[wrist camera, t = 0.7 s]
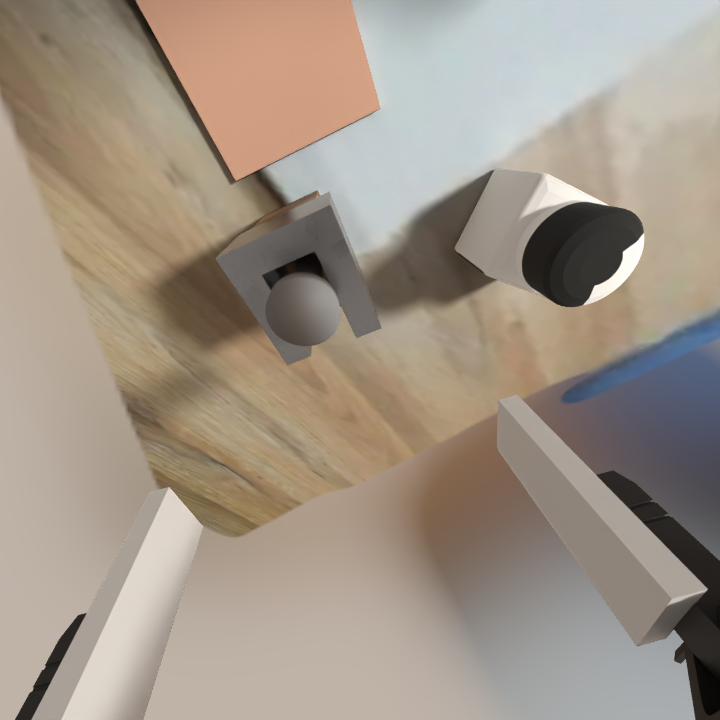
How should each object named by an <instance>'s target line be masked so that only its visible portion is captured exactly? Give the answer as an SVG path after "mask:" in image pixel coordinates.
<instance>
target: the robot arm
mask: <svg viewBox="0 0 720 720" xmlns="http://www.w3.org/2000/svg"><path fill="white" fill-rule="evenodd" d="M497 449H498V451H499V452H500V453H501V455H502V456H503V458H504V459H505V461H506V462H507V463H508V465H509V466H510V468H511V469H512V470H513V472H514V473H515V475H516V476H517V477H518V479H519V480H520V482H521V483H522V485H523V486H524V487H525V489H526V490H527V492H528V493H529V495H530V496H531V497H532V499H533V500H534V502H535V503H536V504H537V506H538V507H539V509H540V510H541V511H542V513H543V514H544V516H545V517H546V519H547V520H548V521H549V523H550V524H551V526H552V527H553V528H554V530H555V531H556V533H557V534H558V535H559V537H560V538H561V540H562V541H563V543H564V544H565V545H566V547H567V548H568V550H569V551H570V552H571V554H572V555H573V557H574V558H575V560H576V561H577V562H578V564H579V565H580V567H581V568H582V569H583V571H584V572H585V573H586V575H587V577H588V578H589V579H590V581H591V582H592V584H593V585H594V586H595V588H596V589H597V591H598V592H599V594H600V595H601V596H602V597H603V599H604V601H605V602H606V603H607V605H608V606H609V608H610V609H611V611H612V612H613V613H614V615H615V616H616V618H617V619H618V620H619V622H620V623H621V625H622V626H623V627H624V629H625V630H626V632H627V633H628V635H629V636H630V637H631V639H632V640H633V642H634V643H635V644H636V646H640V645H644V644H647V643H651V642H655V641H658V640H662V639H665V638H667V637H668V636H669V634H670V633H671V632H672V631H673V630H675V631H676V632H677V634H678V635H679V636H680V637H681V638H682V640H683V641H684V642H683V643H682V644H681V646H680V647H679V648H678V649H677V650H676V651H675V658H674V660H675V661H676V662H678V663H682V662H683V661H684V660H685V659H686V663H687V668H688V675H689V680H690V688H691V693H692V700H693V706H694V713H695V718H696V720H720V561H719V560H718V559H717V558H716V557H715V556H713V554H711V553H710V552H709V551H708V550H707V549H706V548H705V547H704V546H703V545H702V544H700V543H699V541H697V540H696V539H695V538H694V537H693V536H692V535H691V534H690V533H689V532H688V531H687V530H685V529H684V528H683V527H682V526H681V525H680V524H679V523H678V522H677V521H676V520H674V519H673V518H672V517H670V516H669V515H668V513H667V512H666V511H665V510H664V509H663V508H662V507H660V506H659V505H658V504H657V503H654V502H653V499H652V498H651V497H650V496H648V495H647V494H646V493H645V492H644V491H643V490H642V489H641V488H640V487H638V485H637V484H635V483H634V482H632V481H630V480H629V479H627V478H625V477H624V476H622V475H620V474H618V473H616V472H615V471H609V472H606V473H602V474H599V475H595V474H594V473H593V472H592V471H591V470H590V469H589V468H588V467H587V465H586V464H585V463H583V461H582V460H580V458H579V457H578V456H577V455H576V454H575V453H573V451H572V450H571V449H570V448H569V447H568V446H567V445H566V444H565V443H564V442H563V441H562V440H561V439H560V438H559V437H558V436H557V435H556V434H555V433H554V432H553V431H552V430H551V429H550V428H549V427H548V426H547V425H546V424H545V423H544V422H543V421H542V420H541V419H540V418H539V417H538V416H537V415H536V414H535V413H534V412H533V411H532V410H531V408H530V407H529V406H528V405H527V404H525V402H524V401H523V400H522V399H521V398H520V397H519V396H518V395H515V396H512V397H508V398H504V399H500V400H498V428H497ZM202 529H203V526H202V525H201V524H200V522H199V521H198V520H197V519H196V518H195V517H194V515H193V514H192V513H191V512H190V511H189V510H188V508H187V507H186V506H185V505H184V504H183V503H182V502H181V500H180V499H179V498H178V497H177V496H176V495H175V493H174V492H173V491H172V490H171V489H170V488H169V487H167V488H164V489H160V490H156V491H152V492H149V494H148V496H147V498H146V500H145V502H144V504H143V506H142V508H141V510H140V512H139V514H138V515H137V518H136V519H135V521H134V523H133V525H132V527H131V529H130V531H129V533H128V535H127V537H126V538H125V540H124V542H123V544H122V546H121V548H120V550H119V552H118V554H117V556H116V558H115V560H114V562H113V564H112V565H111V567H110V569H109V571H108V573H107V575H106V577H105V579H104V581H103V583H102V585H101V587H100V589H99V591H98V593H97V595H96V596H95V598H94V600H93V602H92V604H91V606H90V608H89V610H88V612H87V613H85V614H81V615H78V616H77V618H76V619H75V620H74V621H73V623H72V624H71V625H70V626H69V628H68V629H67V630H66V631H65V633H64V634H63V635H62V636H61V638H60V639H59V641H58V643H57V644H56V646H55V648H54V650H53V652H52V653H51V656H50V657H49V659H48V661H47V663H46V664H45V665H46V667H45V669H44V670H42V672H41V673H40V675H39V677H38V679H37V681H36V683H35V685H34V686H33V687H34V689H33V691H32V692H31V693H29V695H28V697H27V699H26V701H25V703H24V705H23V706H22V708H21V710H20V712H19V714H18V716H17V717H16V719H15V720H143V719H144V716H145V712H146V709H147V706H148V702H149V700H150V696H151V693H152V690H153V687H154V683H155V680H156V677H157V674H158V670H159V667H160V664H161V661H162V658H163V654H164V651H165V648H166V645H167V641H168V638H169V635H170V632H171V629H172V625H173V622H174V619H175V615H176V613H177V609H178V606H179V603H180V600H181V596H182V593H183V590H184V587H185V583H186V580H187V577H188V574H189V570H190V567H191V564H192V561H193V558H194V555H195V551H196V548H197V545H198V542H199V538H200V535H201V532H202Z"/></svg>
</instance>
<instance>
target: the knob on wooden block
mask: <svg viewBox="0 0 720 720" xmlns="http://www.w3.org/2000/svg"><path fill="white" fill-rule="evenodd" d="M319 196H320V195H319V192H318V190H317V191H315V192H313V193H311V194H309V195H307V196H305V197H303V198H300V199H298V200H296V201H294V202H292V203H290V204H288V205H286V206H284V207H282V208H279V209H277V210H275V211H273V212H271V213H269V214H267V215H265V216H263V217H262V218H261V220H260V221H259V222H258V223H257V224H256V225H255V226H254V227H256V226H258V225H260V224H262V223H265V222H267V221H269V220H271V219H273V218H275V217H277V216H279V215H281V214H284V213H286V212H288V211H290V210H292V209H294V208H296V207H298V206H300V205H302V204H305V203H307V202H309V201H311V200H313V199H315V198H317V197H319ZM254 227H253V228H254ZM285 266H286V268H287V270H288V271H289V273H290V274H289V275H286V276H285V277H283V278H281V279H280V280H279V281H278V282H277V283H276V284H275V285H274V286H273V288H272V290H271V292H270V294H269V297H268V299H267V302H266V307H265V313H266V319H267V322H268V324H269V326H270V328H271V329H272V331H273V332H274V333H275V334H276V335H277V336H278V337H279V338H281V339H282V340H284V341H286V342H288V343H290V344H293V345H297V346H312V345H317V344H320V343H322V342H324V341H326V340H327V339H328V338H330V337H331V336H332V335H333V334H334V332H335V331H336V329H337V327H338V325H339V322H340V306H341V305H340V303H339V298H338V295H337V293H336V291H335V289H334V288H333V287H332V286H331V284H330V282H329V280H328V278H327V275H326V273H325V271H324V269H323V267H322V265H321V263H320V261H319V259H318V257H317V255H316V253H315V251H314V252H312V253H310V254H307V255H305V256H303V257H301V258H299V259H296V260H294V261H292V262H290V263H287V264H285Z"/></svg>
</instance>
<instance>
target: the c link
mask: <svg viewBox="0 0 720 720" xmlns="http://www.w3.org/2000/svg"><path fill="white" fill-rule="evenodd" d="M314 251H315V253H316V255H317V257H318V259H319V261H320V263H321V265H322V267H323V269H324V271H325V273H326V275H327V278H328V280H329V282H330V284H331V286H332V287H333V288H334V289H335V291H336V293H337V295H338V298H339V303H340V305H341V307H342V309H343V311H344V313H345V315H346V317H347V319H348V321H349V324H350V326H351V328H352V330H353V332H354V334H355V336H356V338H358V337H360V336H363V335H365V334H368V333H371V332H373V331H376V330H378V329H381V325H380V322H379V319H378V316H377V313H376V309H375V306H374V303H373V300H372V297H371V294H370V291H369V289H368V286H367V284H366V281H365V279H364V276H363V274H362V271H361V269H360V266H359V264H358V261H357V259H356V257H355V254H354V252H353V249H352V247H351V244H350V242H349V239H348V237H347V234H346V232H345V229H344V227H343V224H342V222H341V219H340V217H339V214H338V212H337V210H336V207H335V205H334V202H333V200H332V197H331V195H330V192H328V193H326V194H324V195H321V196H319V197H317V198H315V199H313V200H311V201H309V202H307V203H305V204H302V205H300V206H298V207H296V208H294V209H292V210H290V211H288V212H286V213H284V214H281V215H279V216H277V217H275V218H273V219H271V220H269V221H267V222H265V223H262V224H260V225H258V226H256V227H254V228H252V229H250V230H248V231H246V232H243V233H241V234H240V235H239V236H238V237H237V238H235V239H234V240H233V241H232V242H231V243H230V244H229V245H228V246H227V247H226V248H225V249H224V250H223V251H222V252H221V253H220V254H219V255H218V256H217V257H216V258H215V259H216V261H217V262H218V264H219V265H220V267H221V268H222V270H223V271H224V273H225V274H226V275H227V277H228V278H229V280H230V281H231V283H232V284H233V286H234V287H235V289H236V290H237V292H238V293H239V295H240V296H241V298H242V299H243V300H244V302H245V303H246V305H247V306H248V308H249V309H250V311H251V312H252V314H253V315H254V317H255V318H256V320H257V321H258V323H259V324H260V325H261V327H262V328H263V330H264V331H265V333H266V334H267V336H268V337H269V339H270V340H271V342H272V343H273V345H274V346H275V348H276V349H277V350H278V352H279V353H280V355H281V356H282V358H283V359H284V361H285V362H286V364H287V365H290V364H292V363H295V362H297V361H300V360H302V359H305V358H307V357H310V356H311V347H312V346H297V345H293V344H290V343H288V342H286V341H284V340H282V339H281V338H279V337H278V336H277V335H276V334H275V333H274V332H273V331H272V329H271V328H270V326H269V324H268V322H267V319H266V313H265V307H266V302H267V299H268V297H269V294H270V292H271V290H272V288H273V286H274V285H275V284H276V283H277V282H278V281H279V280H280V279H281V278H283V277H285V276H286V275H289V274H290V273H289V271H288V270H287V268H286V266H285V264H287V263H290V262H292V261H294V260H296V259H299V258H301V257H303V256H305V255H307V254H310V253H312V252H314Z"/></svg>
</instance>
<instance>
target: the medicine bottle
mask: <svg viewBox="0 0 720 720" xmlns="http://www.w3.org/2000/svg"><path fill="white" fill-rule="evenodd" d="M643 246H644V230H643V226H642V223H641V221H640V219H639V218H638V217H637V216H636V215H635V214H634V213H633V212H631V211H629V210H626V209H623V208H617V207H612V206H609V205H607V204H605V203H603V202H601V201H600V200H598V199H596V198H594V197H592V196H590V195H588V194H586V193H584V192H582V191H580V190H578V189H576V188H574V187H572V186H570V185H569V184H567V183H565V182H563V181H561V180H559V179H557V178H555V177H553V176H551V175H549V174H547V173H541V172H531V171H521V170H511V169H501V168H497V169H495V170H494V172H493V173H492V175H491V177H490V179H489V181H488V183H487V185H486V187H485V189H484V191H483V193H482V195H481V197H480V199H479V201H478V203H477V205H476V207H475V209H474V211H473V213H472V215H471V217H470V218H469V220H468V222H467V224H466V226H465V228H464V230H463V232H462V234H461V236H460V238H459V240H458V242H457V244H456V246H455V252H456V253H458V254H459V255H460V256H461V257H463V258H464V259H465V260H467V261H468V262H469V263H470V264H472V265H473V266H474V267H476V268H477V269H478V270H480V271H481V272H482V273H483V274H485V275H486V276H489V277H491V278H494V279H497V280H499V281H502V282H505V283H507V284H510V285H513V286H515V287H518V288H521V289H523V290H526V291H529V292H531V293H534V294H537V295H540V296H542V297H545V298H548V299H549V300H551V301H553V302H554V303H556V304H558V305H561V306H565V307H578V306H583V305H586V304H589V303H592V302H595V301H597V300H600V299H602V298H603V297H605V296H607V295H608V294H610V293H611V292H613V291H614V290H615V289H616V288H618V287H619V286H620V285H621V284H622V283H623V282H624V281H625V280H626V279H627V278H628V276H629V275H630V274H631V272H632V271H633V270H634V268H635V266H636V265H637V263H638V261H639V259H640V256H641V253H642V250H643Z"/></svg>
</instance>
